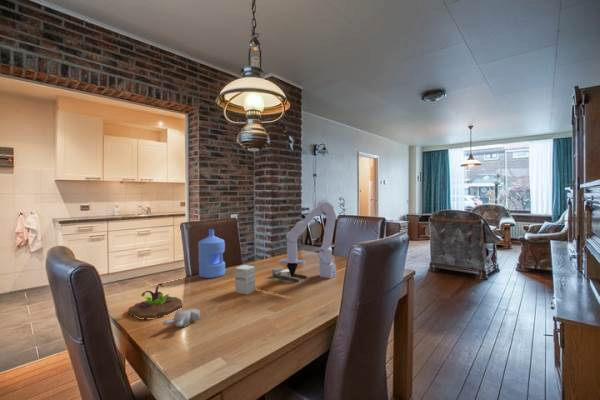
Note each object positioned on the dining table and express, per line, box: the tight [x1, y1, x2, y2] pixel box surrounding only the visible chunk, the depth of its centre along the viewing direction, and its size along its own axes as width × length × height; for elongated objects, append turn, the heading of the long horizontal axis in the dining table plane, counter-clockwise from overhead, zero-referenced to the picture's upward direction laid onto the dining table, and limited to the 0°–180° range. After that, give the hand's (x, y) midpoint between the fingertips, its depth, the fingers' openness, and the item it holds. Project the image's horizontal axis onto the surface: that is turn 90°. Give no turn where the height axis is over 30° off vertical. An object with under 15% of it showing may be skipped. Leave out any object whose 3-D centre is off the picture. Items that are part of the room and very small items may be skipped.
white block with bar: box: [275, 268, 291, 277], centre depth 162 cm, size 5×10×4 cm, turn 144°
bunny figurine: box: [162, 308, 201, 328], centre depth 109 cm, size 10×5×15 cm
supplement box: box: [234, 264, 256, 295], centre depth 144 cm, size 7×7×13 cm
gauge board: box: [266, 266, 311, 286], centre depth 161 cm, size 22×13×5 cm, turn 54°
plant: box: [127, 282, 183, 319], centre depth 124 cm, size 20×20×11 cm
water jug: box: [197, 228, 227, 279], centre depth 175 cm, size 16×16×28 cm
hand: (292, 276), depth 161 cm, fingers closed
